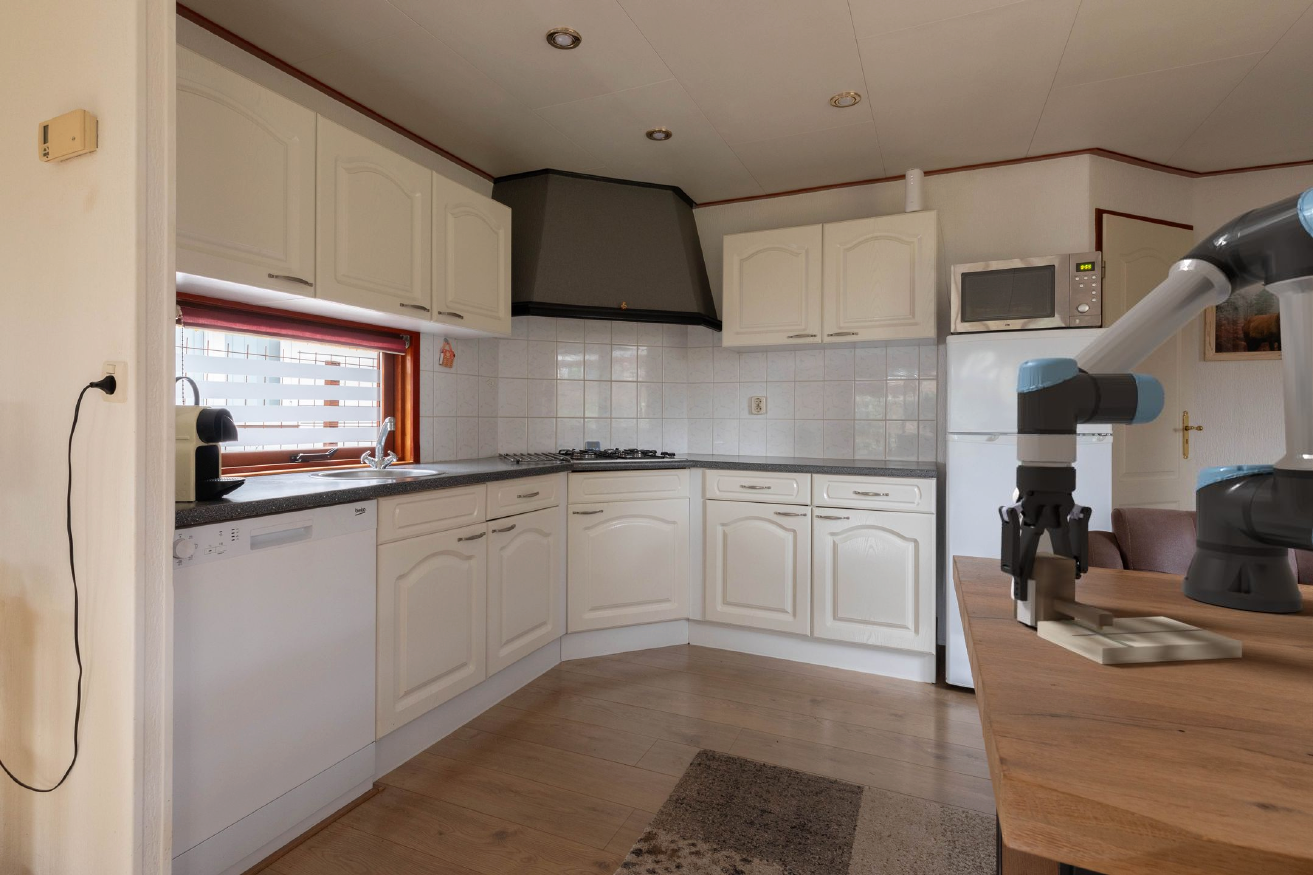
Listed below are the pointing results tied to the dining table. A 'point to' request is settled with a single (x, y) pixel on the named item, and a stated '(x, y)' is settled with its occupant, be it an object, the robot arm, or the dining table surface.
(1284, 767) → the dining table surface
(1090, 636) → the board
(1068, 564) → the block with long handle
